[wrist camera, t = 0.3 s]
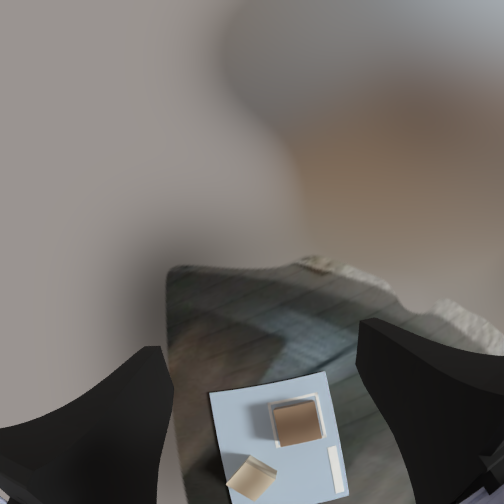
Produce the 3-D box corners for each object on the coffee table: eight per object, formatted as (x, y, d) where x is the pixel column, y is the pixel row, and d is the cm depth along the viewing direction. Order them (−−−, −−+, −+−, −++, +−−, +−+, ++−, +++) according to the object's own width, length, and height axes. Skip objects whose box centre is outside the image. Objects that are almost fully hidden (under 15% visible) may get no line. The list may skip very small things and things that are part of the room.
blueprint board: (348, 493, 25) (349, 495, 24) (235, 512, 25) (234, 514, 25) (324, 371, 34) (325, 371, 34) (210, 392, 35) (209, 392, 34)
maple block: (277, 470, 28) (275, 479, 24) (258, 491, 26) (254, 501, 23) (250, 454, 29) (245, 462, 26) (231, 475, 28) (225, 484, 24)
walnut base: (318, 433, 30) (322, 438, 26) (281, 440, 30) (280, 447, 26) (312, 399, 32) (314, 401, 29) (275, 407, 32) (273, 410, 29)
